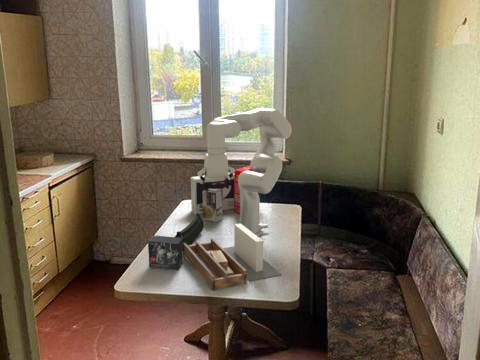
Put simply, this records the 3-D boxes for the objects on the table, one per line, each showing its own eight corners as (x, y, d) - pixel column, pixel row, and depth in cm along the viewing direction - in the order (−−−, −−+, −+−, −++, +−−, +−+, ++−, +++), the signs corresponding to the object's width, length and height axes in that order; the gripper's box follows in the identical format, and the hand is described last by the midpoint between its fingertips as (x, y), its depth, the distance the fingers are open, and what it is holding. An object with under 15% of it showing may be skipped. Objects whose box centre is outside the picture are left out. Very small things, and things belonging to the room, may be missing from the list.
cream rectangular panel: (240, 250, 214) (240, 223, 210) (262, 270, 194) (263, 240, 191) (234, 251, 212) (234, 224, 209) (256, 271, 193) (256, 241, 190)
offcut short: (220, 255, 204) (220, 250, 203) (227, 266, 193) (227, 261, 192) (210, 256, 202) (210, 251, 202) (216, 268, 191) (216, 262, 191)
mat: (245, 245, 221) (245, 244, 221) (281, 275, 191) (281, 274, 191) (217, 249, 216) (217, 249, 215) (250, 281, 186) (250, 280, 185)
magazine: (177, 239, 204) (200, 201, 228) (170, 238, 205) (194, 200, 229) (183, 269, 213) (204, 229, 237) (176, 268, 213) (198, 228, 238)
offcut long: (215, 256, 210) (215, 249, 209) (233, 279, 188) (233, 272, 187) (205, 257, 209) (205, 251, 208) (222, 281, 187) (222, 274, 186)
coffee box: (223, 219, 256) (223, 190, 252) (216, 222, 251) (216, 193, 247) (209, 215, 261) (209, 187, 257) (202, 219, 256) (202, 190, 252)
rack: (213, 249, 216) (212, 238, 214) (246, 283, 184) (246, 270, 182) (183, 254, 210) (183, 243, 209) (212, 290, 178) (212, 277, 177)
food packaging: (241, 215, 262) (241, 171, 256) (234, 213, 265) (234, 169, 259) (257, 209, 273) (258, 166, 267) (250, 207, 276) (250, 165, 270)
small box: (148, 268, 197) (147, 241, 194) (154, 261, 203) (152, 235, 200) (179, 270, 195) (178, 243, 192) (183, 263, 201) (183, 237, 198)
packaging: (195, 214, 263) (194, 179, 258) (191, 211, 269) (190, 177, 264) (244, 206, 277) (244, 173, 272) (239, 204, 282) (239, 171, 277)
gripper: (231, 148, 212) (231, 185, 216) (194, 151, 205) (195, 189, 209) (238, 151, 205) (238, 189, 209) (200, 154, 198) (200, 193, 202)
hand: (216, 189), depth 209 cm, fingers open, 9 cm apart
